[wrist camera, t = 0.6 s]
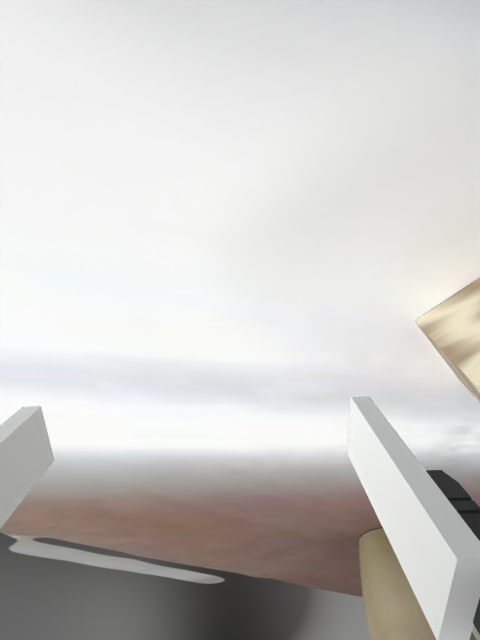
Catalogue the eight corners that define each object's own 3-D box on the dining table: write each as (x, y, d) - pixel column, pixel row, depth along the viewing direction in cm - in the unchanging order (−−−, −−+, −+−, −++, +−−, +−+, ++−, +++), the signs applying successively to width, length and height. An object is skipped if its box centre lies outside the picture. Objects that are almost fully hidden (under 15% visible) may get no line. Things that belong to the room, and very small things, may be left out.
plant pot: (368, 559, 63) (409, 677, 50) (323, 541, 57) (356, 671, 44) (435, 530, 58) (501, 655, 44) (392, 508, 51) (454, 644, 38)
